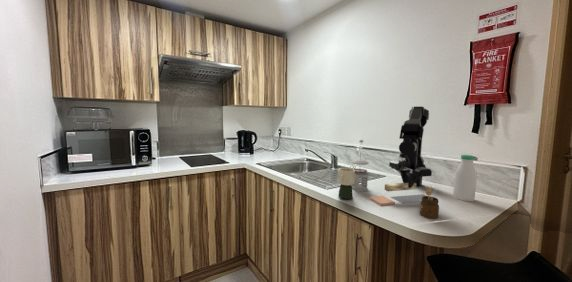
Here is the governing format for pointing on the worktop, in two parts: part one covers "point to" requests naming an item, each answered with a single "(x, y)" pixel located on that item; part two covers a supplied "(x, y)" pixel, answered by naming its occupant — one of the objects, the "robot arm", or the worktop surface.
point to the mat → (409, 198)
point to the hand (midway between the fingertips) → (407, 186)
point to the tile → (381, 200)
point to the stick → (399, 187)
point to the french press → (360, 175)
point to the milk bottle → (465, 179)
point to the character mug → (346, 182)
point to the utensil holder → (429, 205)
